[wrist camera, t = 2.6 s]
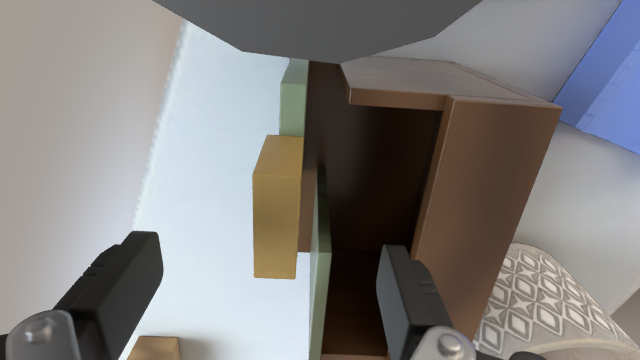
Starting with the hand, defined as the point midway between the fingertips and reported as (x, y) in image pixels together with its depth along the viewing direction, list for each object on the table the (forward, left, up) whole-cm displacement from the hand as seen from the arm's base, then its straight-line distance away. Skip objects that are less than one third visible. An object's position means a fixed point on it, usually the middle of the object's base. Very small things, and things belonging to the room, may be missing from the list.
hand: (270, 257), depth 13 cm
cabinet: (+6, -4, -19) cm, 21 cm away
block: (-15, -30, -19) cm, 39 cm away
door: (0, 0, -18) cm, 18 cm away
